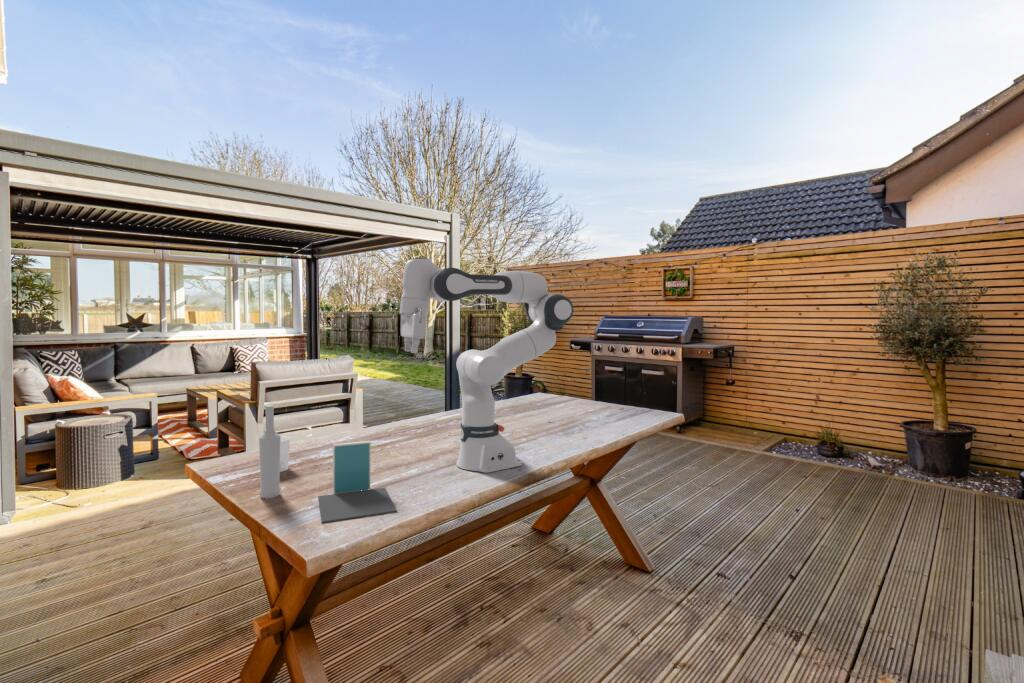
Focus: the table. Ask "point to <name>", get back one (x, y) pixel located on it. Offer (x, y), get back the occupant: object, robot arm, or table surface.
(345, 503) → the mat
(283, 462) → the white cup
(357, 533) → the table surface
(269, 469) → the bottle
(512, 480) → the table surface
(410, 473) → the table surface
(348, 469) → the tile
